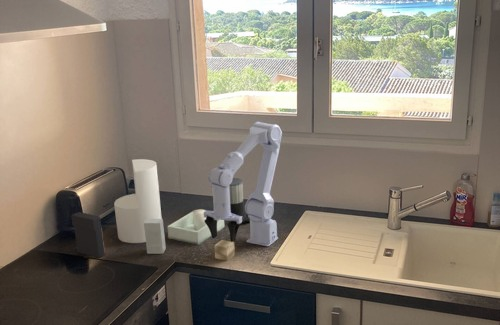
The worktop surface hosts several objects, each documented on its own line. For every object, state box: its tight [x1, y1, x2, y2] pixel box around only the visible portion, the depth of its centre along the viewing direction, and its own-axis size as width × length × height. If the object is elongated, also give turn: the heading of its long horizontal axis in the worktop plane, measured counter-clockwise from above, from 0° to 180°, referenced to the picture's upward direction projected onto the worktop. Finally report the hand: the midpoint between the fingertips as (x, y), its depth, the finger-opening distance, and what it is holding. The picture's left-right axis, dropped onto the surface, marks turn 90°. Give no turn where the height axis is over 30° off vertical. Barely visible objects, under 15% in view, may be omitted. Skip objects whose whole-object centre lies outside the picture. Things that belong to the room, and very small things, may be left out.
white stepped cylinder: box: [113, 158, 163, 244], centre depth 208 cm, size 17×17×28 cm
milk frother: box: [229, 177, 250, 223], centre depth 222 cm, size 14×16×15 cm
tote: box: [167, 209, 225, 246], centre depth 210 cm, size 14×18×5 cm
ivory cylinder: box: [192, 208, 206, 231], centre depth 211 cm, size 5×5×7 cm
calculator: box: [70, 211, 106, 259], centre depth 194 cm, size 11×4×15 cm, turn 59°
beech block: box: [214, 239, 236, 262], centre depth 189 cm, size 5×5×5 cm
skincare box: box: [144, 218, 167, 255], centre depth 194 cm, size 6×4×12 cm
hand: (223, 239), depth 188 cm, fingers open, 7 cm apart
